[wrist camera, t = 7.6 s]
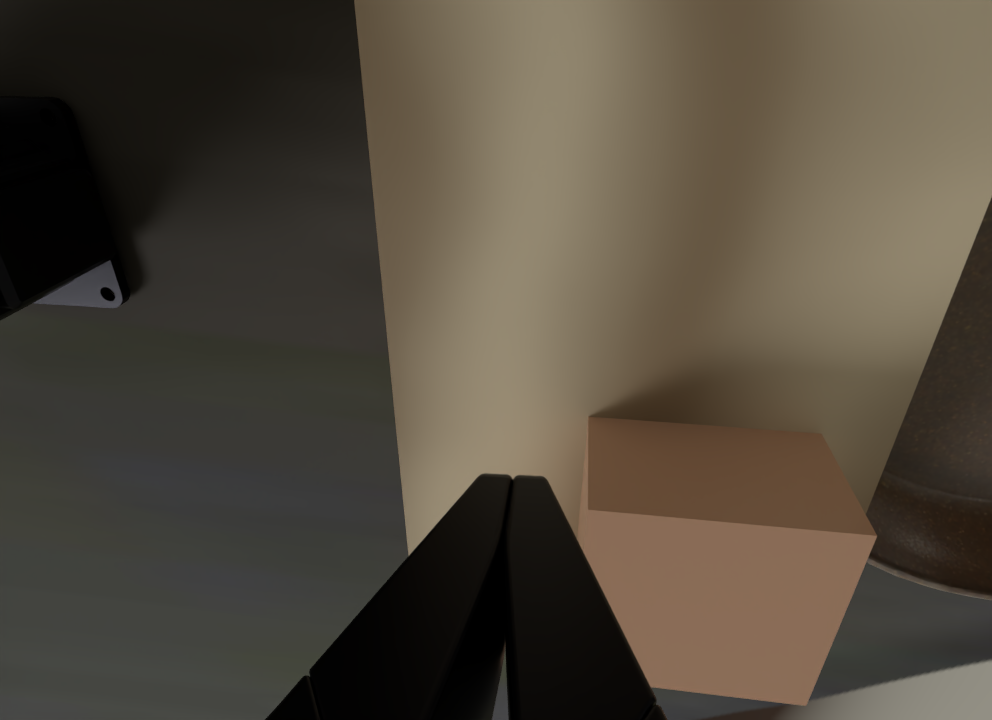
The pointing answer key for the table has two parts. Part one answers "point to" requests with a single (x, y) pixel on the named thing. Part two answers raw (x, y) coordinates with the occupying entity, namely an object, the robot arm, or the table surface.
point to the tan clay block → (722, 552)
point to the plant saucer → (945, 451)
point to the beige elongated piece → (665, 221)
